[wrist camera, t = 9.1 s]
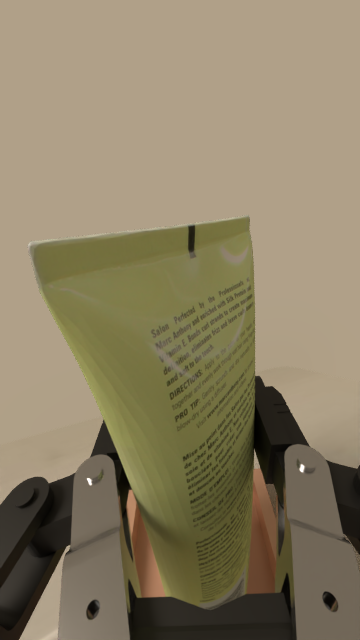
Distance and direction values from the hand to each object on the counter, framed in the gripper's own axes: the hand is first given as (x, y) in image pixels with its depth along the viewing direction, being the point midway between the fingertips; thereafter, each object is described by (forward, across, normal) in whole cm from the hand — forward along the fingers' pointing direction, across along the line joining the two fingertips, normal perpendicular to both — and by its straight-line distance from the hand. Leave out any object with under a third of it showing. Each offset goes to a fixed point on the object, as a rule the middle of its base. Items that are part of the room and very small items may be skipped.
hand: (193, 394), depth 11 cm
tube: (-3, 0, +12) cm, 12 cm away
